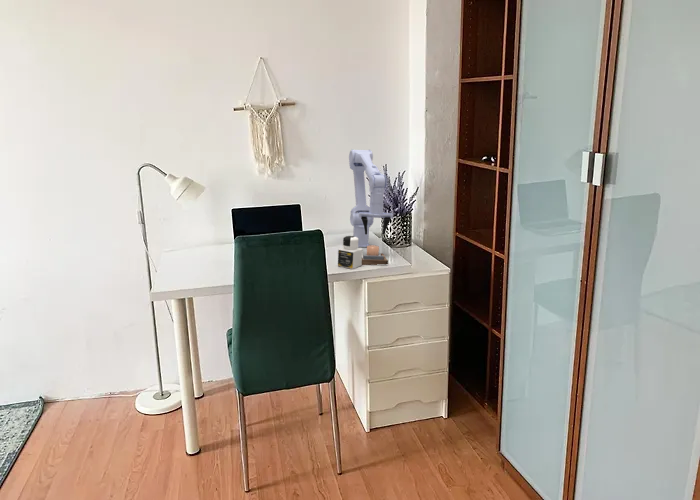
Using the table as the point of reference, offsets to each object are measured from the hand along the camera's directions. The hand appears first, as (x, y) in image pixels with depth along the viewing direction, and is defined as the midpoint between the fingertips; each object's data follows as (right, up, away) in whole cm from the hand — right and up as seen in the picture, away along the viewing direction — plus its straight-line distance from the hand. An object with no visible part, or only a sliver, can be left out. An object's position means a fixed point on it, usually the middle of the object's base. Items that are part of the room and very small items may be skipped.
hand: (374, 234), depth 254 cm
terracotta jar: (-1, -11, -7) cm, 13 cm away
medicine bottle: (-11, -13, -17) cm, 24 cm away
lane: (-1, -11, -8) cm, 14 cm away
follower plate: (-1, -12, -10) cm, 16 cm away
